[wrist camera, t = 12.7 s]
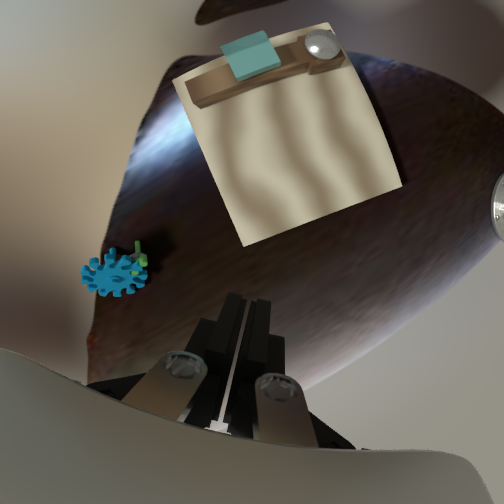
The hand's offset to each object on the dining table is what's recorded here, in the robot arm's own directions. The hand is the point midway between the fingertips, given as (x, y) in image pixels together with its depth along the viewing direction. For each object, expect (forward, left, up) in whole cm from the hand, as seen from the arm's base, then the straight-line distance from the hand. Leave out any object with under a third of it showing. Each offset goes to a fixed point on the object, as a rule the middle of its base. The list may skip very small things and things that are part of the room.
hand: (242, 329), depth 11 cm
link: (-7, -17, -25) cm, 31 cm away
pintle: (-14, -17, -26) cm, 34 cm away
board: (-7, -10, -27) cm, 30 cm away
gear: (+22, -1, -27) cm, 35 cm away
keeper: (-6, -18, -26) cm, 32 cm away
